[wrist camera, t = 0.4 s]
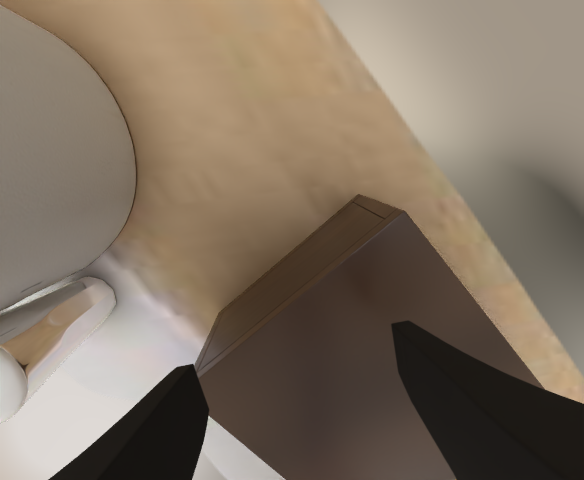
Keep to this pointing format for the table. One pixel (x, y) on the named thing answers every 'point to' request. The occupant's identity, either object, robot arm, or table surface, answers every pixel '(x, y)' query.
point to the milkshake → (47, 336)
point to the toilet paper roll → (56, 161)
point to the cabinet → (342, 351)
